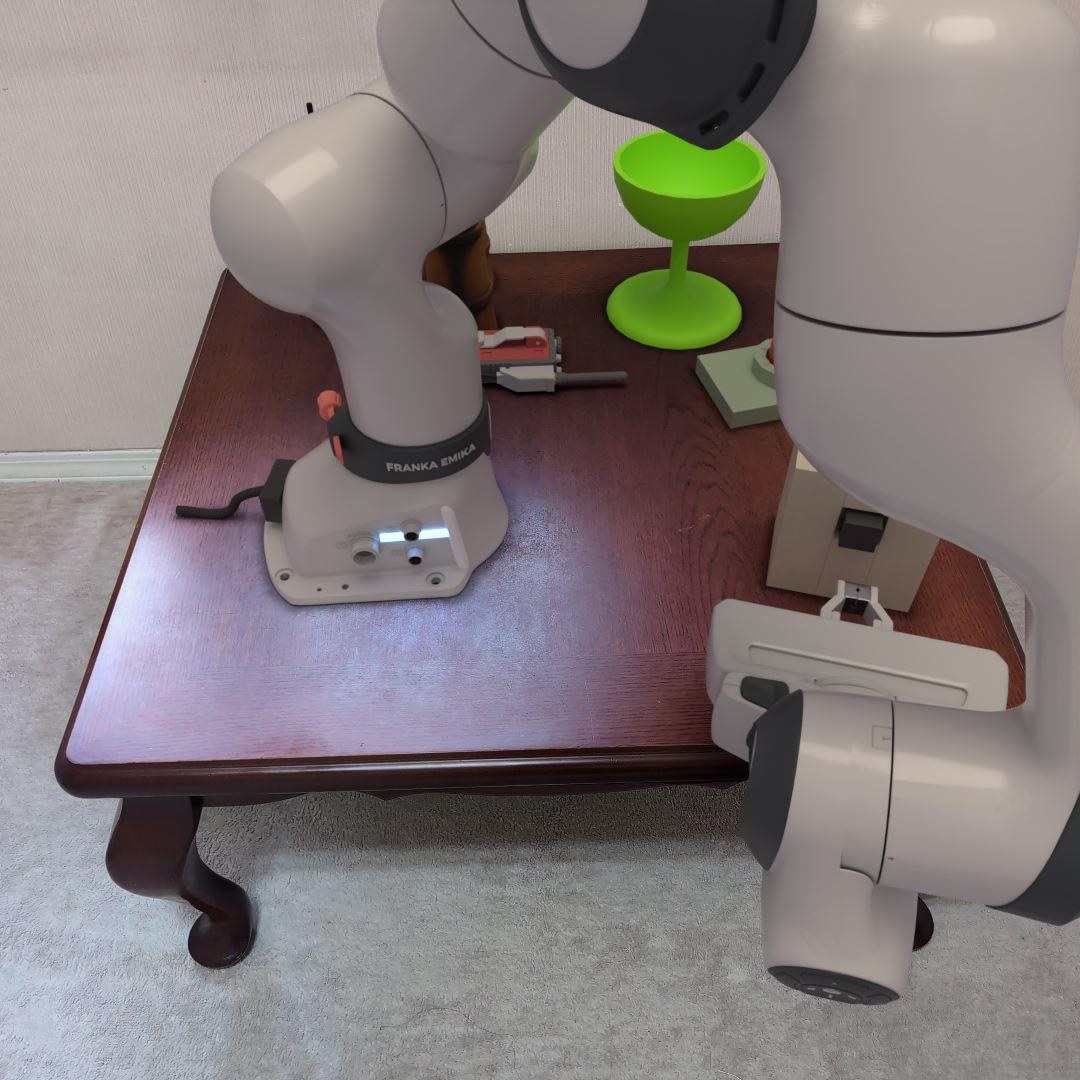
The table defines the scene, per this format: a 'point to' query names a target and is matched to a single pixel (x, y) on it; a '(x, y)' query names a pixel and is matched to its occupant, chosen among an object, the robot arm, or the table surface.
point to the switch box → (741, 384)
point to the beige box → (812, 544)
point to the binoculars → (467, 272)
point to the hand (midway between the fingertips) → (855, 588)
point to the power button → (860, 530)
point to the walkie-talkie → (528, 360)
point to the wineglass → (681, 235)
